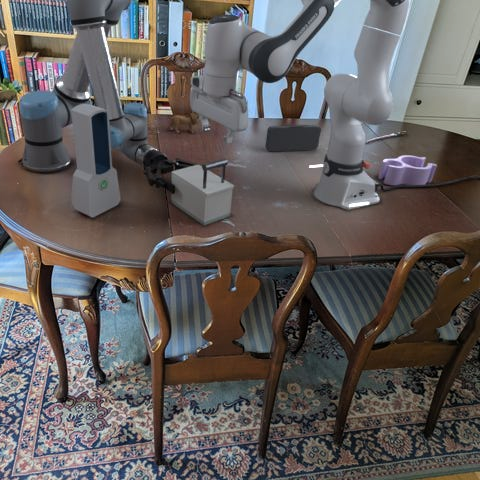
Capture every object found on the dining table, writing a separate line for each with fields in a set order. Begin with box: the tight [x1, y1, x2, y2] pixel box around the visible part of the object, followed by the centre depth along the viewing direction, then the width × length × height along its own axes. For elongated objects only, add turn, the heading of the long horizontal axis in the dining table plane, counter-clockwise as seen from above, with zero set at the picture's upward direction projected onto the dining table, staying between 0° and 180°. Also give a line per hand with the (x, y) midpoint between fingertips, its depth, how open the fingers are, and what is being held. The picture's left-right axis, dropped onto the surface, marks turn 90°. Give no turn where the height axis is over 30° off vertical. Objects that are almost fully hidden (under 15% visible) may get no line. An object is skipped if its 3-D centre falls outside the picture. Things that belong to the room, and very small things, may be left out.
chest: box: [170, 173, 234, 226], centre depth 141 cm, size 16×10×10 cm, turn 42°
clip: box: [377, 154, 438, 186], centre depth 174 cm, size 20×12×7 cm, turn 109°
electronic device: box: [70, 104, 122, 218], centre depth 130 cm, size 12×8×30 cm, turn 148°
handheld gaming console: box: [264, 124, 322, 152], centre depth 189 cm, size 23×3×10 cm, turn 108°
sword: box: [365, 132, 406, 144], centre depth 214 cm, size 31×3×1 cm, turn 126°
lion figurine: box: [166, 111, 201, 134], centre depth 195 cm, size 15×5×9 cm, turn 110°
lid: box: [171, 158, 235, 196], centre depth 136 cm, size 17×10×8 cm, turn 42°
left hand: (191, 184), depth 143 cm, fingers open, 12 cm apart
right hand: (216, 136), depth 126 cm, fingers open, 8 cm apart
